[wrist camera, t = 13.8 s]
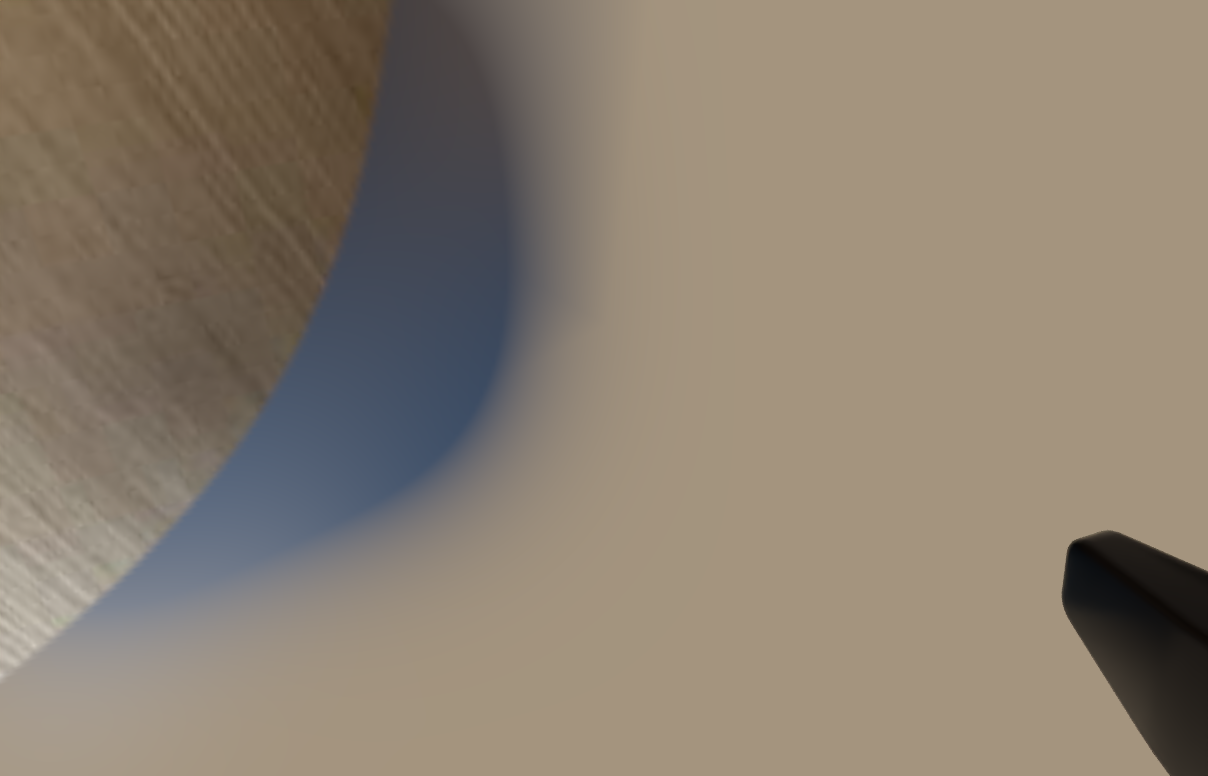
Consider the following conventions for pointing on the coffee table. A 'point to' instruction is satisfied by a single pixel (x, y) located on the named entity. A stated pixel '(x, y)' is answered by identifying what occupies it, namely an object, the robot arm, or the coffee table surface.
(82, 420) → the coffee table surface
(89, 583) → the coffee table surface
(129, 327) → the coffee table surface
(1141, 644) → the robot arm
